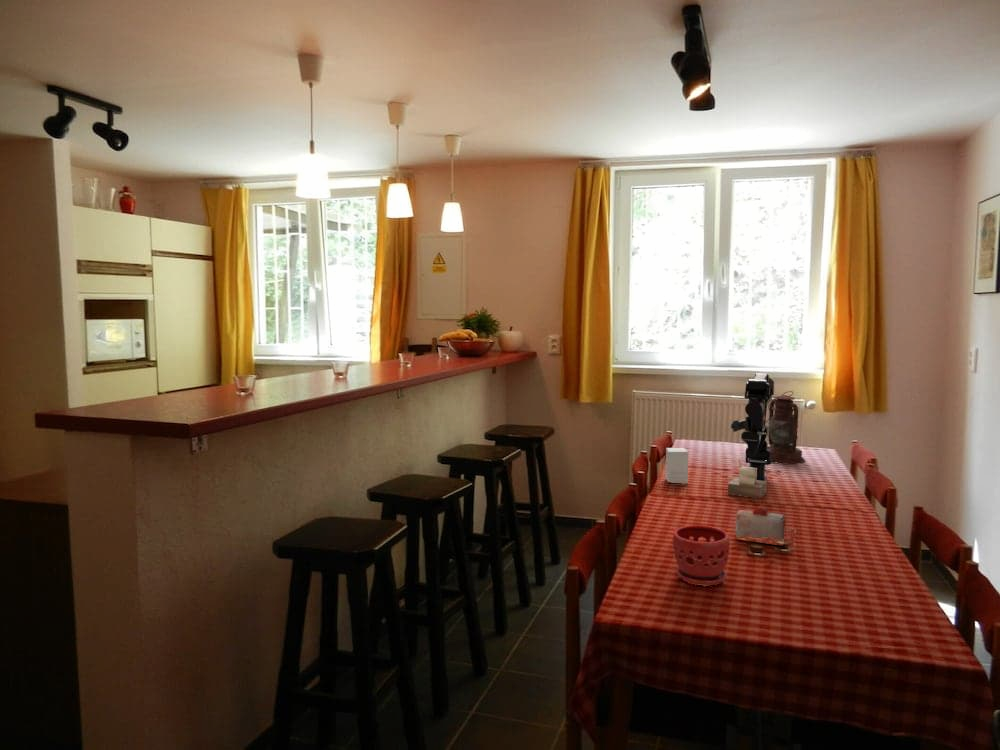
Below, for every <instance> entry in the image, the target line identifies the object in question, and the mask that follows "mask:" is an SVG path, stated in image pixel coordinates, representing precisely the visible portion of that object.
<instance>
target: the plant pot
mask: <svg viewBox="0 0 1000 750" xmlns="http://www.w3.org/2000/svg"><path fill="white" fill-rule="evenodd" d="M672 535H673V537H672V540H673V541H672V545H673V552H674V557H675V561H676V564H677V566H678V568H676V574H677V576H678V577H679V578H680V577H681V578H682V579H684V580H686V581H689V582H693V583H697V584H705V585H706V584H707V585H709V584H710V585H712V584H718V583H721V582H722V583H723V582H724V581H725V580H726V578H727V573H726V571H725V569H726V568H727V565H728V560H729V555H730V535H729V533H728V532H727V531H725V530H724V529H721V528H718V527H715V526H711V525H704V524H703V525H699V524H693V525H685V526H684V525H683V526H681V527H677V528H676V529H674V531H673V534H672ZM691 537H693V539H692V540H691V539H690V538H691ZM702 537H703V538H704V539H705V541H699V539H700V538H702ZM711 537H712V538H713V541H711ZM681 578H680V579H681ZM682 579H681V580H682ZM722 583H721V584H722Z"/></svg>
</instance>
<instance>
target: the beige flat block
mask: <svg viewBox="0 0 1000 750" xmlns="http://www.w3.org/2000/svg"><path fill="white" fill-rule="evenodd" d="M767 483H768V481H767V480H765V481H761V480H756V483H755V484H754V485H751V484H743V483H739V476H738V477H734V478H733V479H731V480H730V482H728V483H727V495H728V494H735V495H741V496H747V497H746V498H748V497H752V498H751V499H755V498H759V499H758V500H761V499H762V498H763V497H764V496H765V494H766V493H767V487H768V486H767V485H768V484H767ZM741 496H740V497H741ZM762 496H763V497H762ZM761 497H762V498H761ZM760 498H761V499H760Z"/></svg>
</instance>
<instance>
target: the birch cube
mask: <svg viewBox="0 0 1000 750" xmlns="http://www.w3.org/2000/svg"><path fill="white" fill-rule="evenodd" d="M738 474H739V476H738V478H739V483H743V484H751V485H754V484H755V483H756V479H757V468H751V467H750V466H741V467H740V468H739V472H738Z"/></svg>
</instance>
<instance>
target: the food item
mask: <svg viewBox="0 0 1000 750" xmlns="http://www.w3.org/2000/svg"><path fill="white" fill-rule="evenodd" d="M734 522H735V525H734V528H735V529H734V530H735V537H738V538H745V537H747V536H749V537H756V538H762V537H771V538H775V539H783V538H784V536H785V537H786V534H785V535H784V532H785V529H786V527H785V525H786V515H785V514H781V513H773V512H769V511H768V509H766V508H764V507H763V505H760V506H756V507H753V510H749V509H747V510H746V509H745V510H744V509H739V510H738V511H737V512H736V513H735V521H734Z"/></svg>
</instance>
